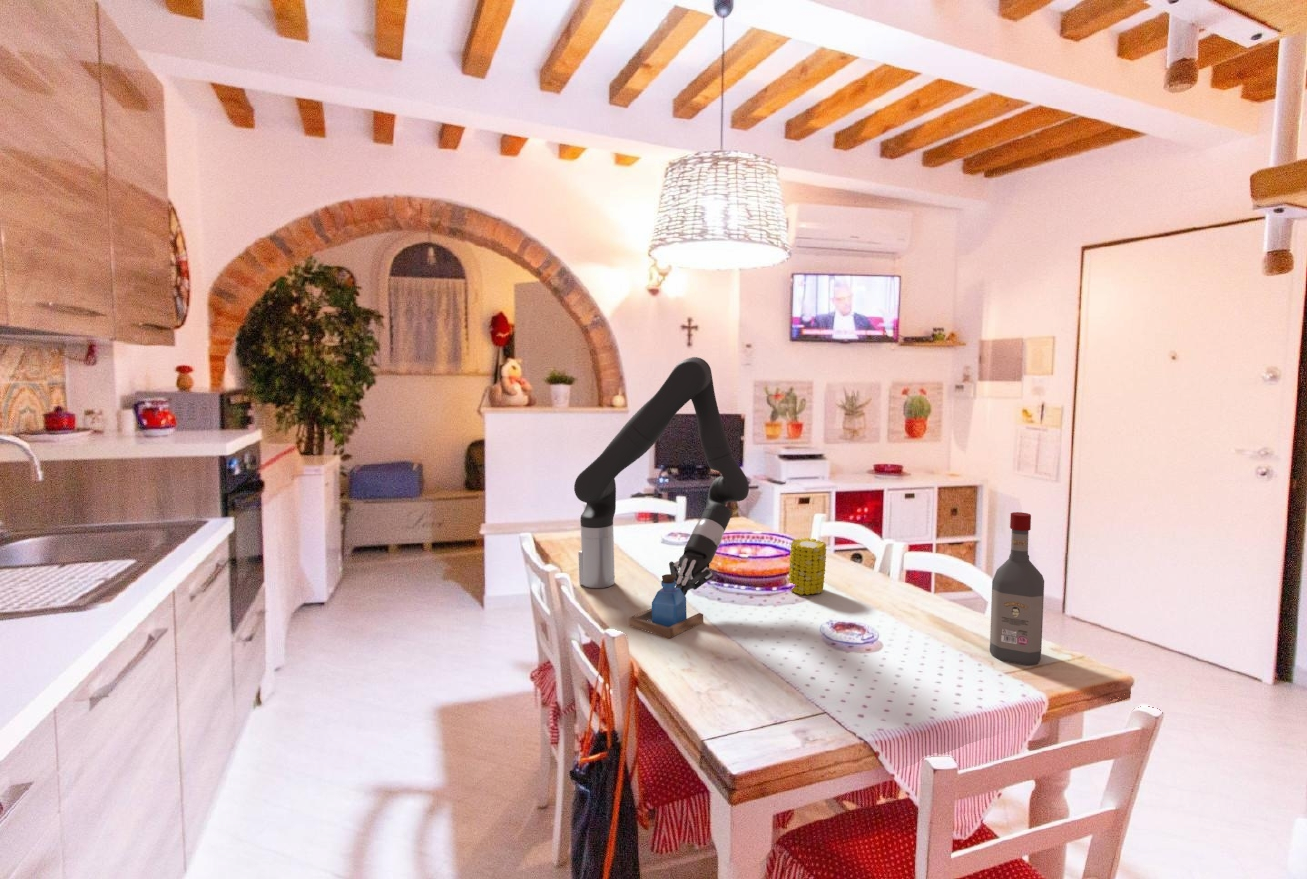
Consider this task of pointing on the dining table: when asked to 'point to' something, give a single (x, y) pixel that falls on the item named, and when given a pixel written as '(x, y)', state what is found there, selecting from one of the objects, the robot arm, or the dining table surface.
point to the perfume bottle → (669, 603)
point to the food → (807, 566)
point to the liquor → (1017, 601)
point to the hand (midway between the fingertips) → (675, 600)
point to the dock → (668, 632)
